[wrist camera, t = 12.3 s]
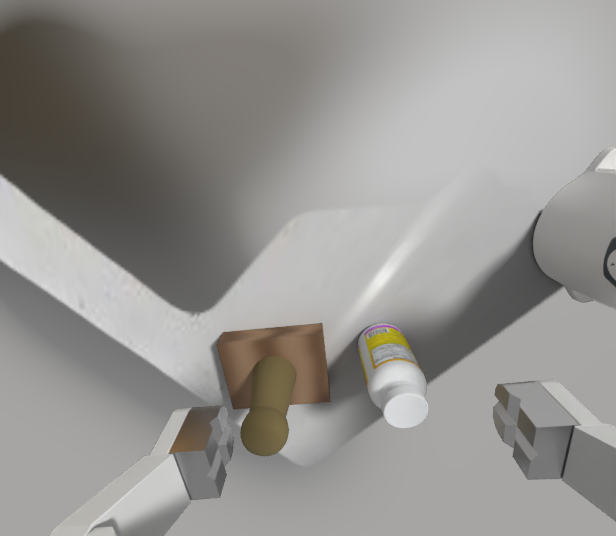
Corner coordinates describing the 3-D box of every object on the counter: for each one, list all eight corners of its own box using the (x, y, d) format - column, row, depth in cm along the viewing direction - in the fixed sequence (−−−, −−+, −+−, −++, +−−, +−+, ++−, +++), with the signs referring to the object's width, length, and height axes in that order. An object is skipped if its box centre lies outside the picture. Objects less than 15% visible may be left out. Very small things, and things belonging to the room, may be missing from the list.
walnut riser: (322, 323, 44) (322, 335, 41) (329, 386, 48) (330, 401, 45) (223, 332, 44) (217, 344, 42) (238, 394, 48) (233, 409, 46)
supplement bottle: (388, 367, 46) (415, 444, 34) (348, 350, 45) (361, 423, 33) (413, 332, 44) (451, 401, 32) (372, 313, 43) (395, 377, 31)
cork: (296, 392, 44) (291, 466, 34) (253, 391, 44) (235, 464, 34) (296, 356, 42) (291, 423, 32) (251, 355, 42) (231, 421, 32)
